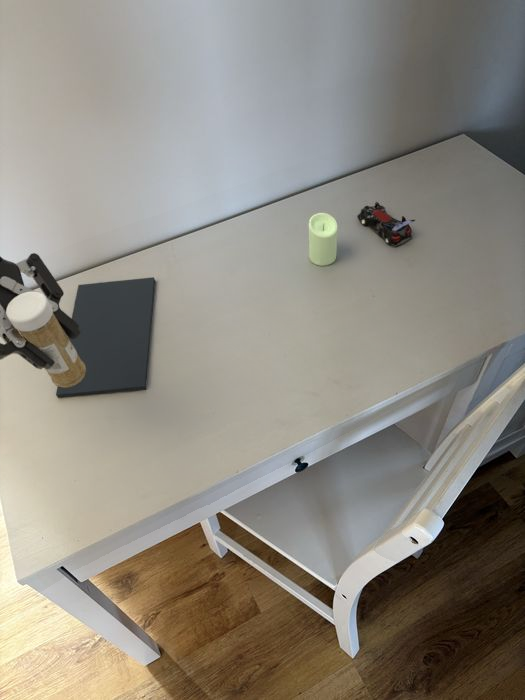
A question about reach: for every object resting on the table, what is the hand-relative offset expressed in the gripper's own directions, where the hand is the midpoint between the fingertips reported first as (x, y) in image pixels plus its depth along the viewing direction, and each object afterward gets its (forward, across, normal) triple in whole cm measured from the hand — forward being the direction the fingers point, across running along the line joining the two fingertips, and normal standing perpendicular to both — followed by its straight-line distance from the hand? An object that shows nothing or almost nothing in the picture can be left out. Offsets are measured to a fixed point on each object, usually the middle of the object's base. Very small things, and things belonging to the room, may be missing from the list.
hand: (64, 350), depth 64 cm
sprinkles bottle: (+3, 0, +6) cm, 7 cm away
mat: (+6, +15, +22) cm, 28 cm away
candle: (+25, +46, +4) cm, 52 cm away
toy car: (+30, +58, -1) cm, 65 cm away
